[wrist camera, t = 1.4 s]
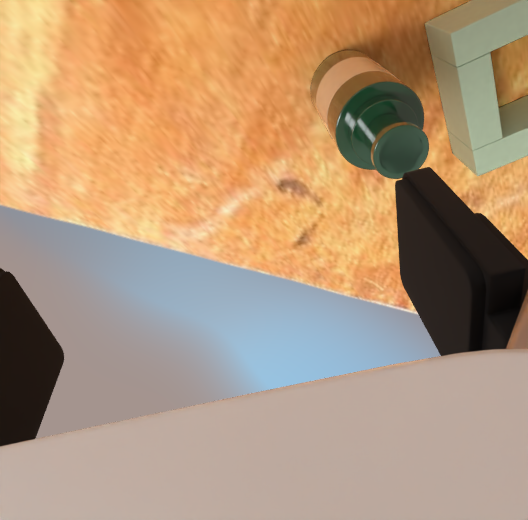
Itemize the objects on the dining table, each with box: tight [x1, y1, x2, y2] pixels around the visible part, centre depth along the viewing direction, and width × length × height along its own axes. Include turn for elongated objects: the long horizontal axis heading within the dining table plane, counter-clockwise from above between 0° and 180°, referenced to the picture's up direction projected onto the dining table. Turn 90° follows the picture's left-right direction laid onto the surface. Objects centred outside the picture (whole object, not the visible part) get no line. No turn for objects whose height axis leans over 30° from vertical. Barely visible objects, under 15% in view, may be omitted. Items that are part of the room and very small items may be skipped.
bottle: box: [311, 50, 429, 179], centre depth 29 cm, size 5×5×13 cm
